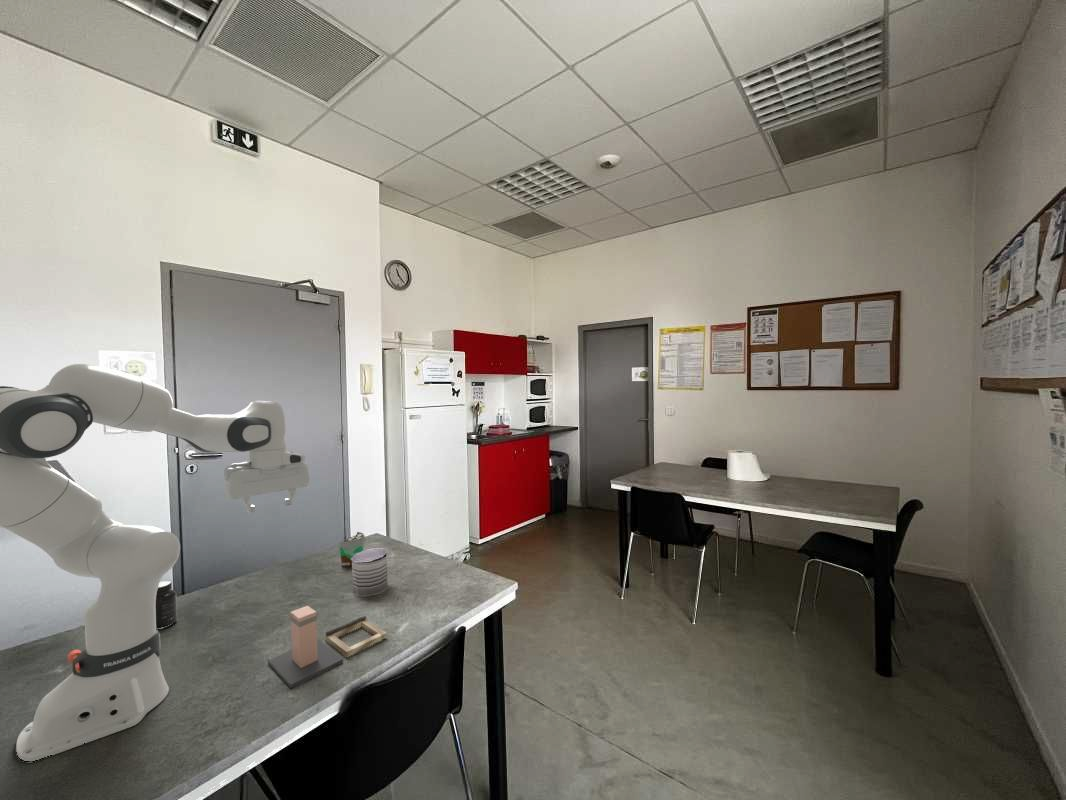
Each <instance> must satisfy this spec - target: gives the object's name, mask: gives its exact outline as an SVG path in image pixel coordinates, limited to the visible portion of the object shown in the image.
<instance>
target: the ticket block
mask: <svg viewBox="0 0 1066 800" xmlns="http://www.w3.org/2000/svg"><path fill="white" fill-rule="evenodd" d="M289 617H290V618H289V619H290V634H291V635H290V636H291V638H290V639H291V650H292V660H293V661H294V662H295V663H296V664H297V665H298V666H299V667H300V668H302V667H304V666H306V665H308V664H311V663H313V662H315V661H317V660H318V649H317V639H318V627H317V621H318V619H317V611H316V610H314V609H313V608H311V607H310V606H309V605H306V606H303V607H299V608H297V609H294V610H292V611H290V616H289Z"/></svg>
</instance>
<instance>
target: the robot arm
mask: <svg viewBox="0 0 1066 800" xmlns="http://www.w3.org/2000/svg"><path fill="white" fill-rule="evenodd" d="M173 405H174V402H173V398H172V395H171V393H170V392H169V390H168V389H166V388H164V387H163V386H160V385H159V384H156V383H155V382H153V381H150V380H148V379H145V378H142V377H139V376H136V375H133V374H129V373H127V372H123V371H119V370H116V369H111V368H108V367H103V366H97V365H93V364H92V365H91V364H85V363H75V364H70V365H66V366H65V367H63V368H61V369H60V370H58V371H57V372H56V373H55V374H54V375H53V376H52V377H51V379H50V381H49V383H48V384H47V385H46V386H44V387H43V388H41V389H38V390H29V389H24V388H18V387H14V386H7V385H6V386H5V385H4V386H2V385H1V386H0V527H2V528H4V529H5V530H7V531H9V532H12V533H13V534H15V535H17V536H19V537H20V538H23V540H26V541H28V542H29V543H31V544H33V545H35V546H37V547H38V548H39V549H41V550H42V551H44V552H45V554H47V555H48V556H49V557H50V558H51V559H53V562H54V565H56V566H57V567H58V568H59V569H61V570H63V571H65V572H68V573H69V574H72V575H74V576H78V577H81V578H83V577H85V578H92V579H93V578H94V579H99V581H100V583H101V584H100V590H99V591H100V592H99V595H98V598H97V600H96V602H94V603H93V604H92V605H90V607H89V608H88V609H87V610H86V612H85V613H84V637H85V639H84V640H85V649H84V650H80V649H74V650H72V651H70V652H69V653H68V655H67V659H68V660H67V661H68V662H69V663H71V665H72V666H71V668H72V673H71V674H70V675H68V676H67V677H65V679H63V680H62V681H61V682H60V683H59V684H57V686H55V687H54V688H53V689H51V690H50V691H49V692H48V693H47V694H46V695H45V696H44V697H42V699H41V700H40V702H39V704H38V706H37V707H36V711H35V713H34V715H33V716H34V717H33V721H31V722H29V723H28V724H27V725H26V726H25V727H24V728H23V729H22V730H21V731H20V733H19V735H18V737H17V739H16V745H15V753H16V752H17V754H16V756H17V755H18V757H19V758H20V759H22V760H24V761H35V760H38V761H40V760H39V759H41V758H44V757H46V758H48V757H47V756H49V757H51V756H50V755H52V756H54V755H57V754H59V753H63V752H66V751H68V750H71V749H73V748H76V747H80V746H82V745H85V744H88V743H91V742H93V741H95V740H98V739H101V738H104V737H107V736H110V735H112V734H116V733H117V732H120V731H124V730H126V729H129V728H131V727H133V726H136V725H137V724H139V723H140V722H141V721H142V720H143V719H144V717H146V715H147V714H148V713H149V712H150V711H151V710H153V709H154V708H155V707H157V706H158V705H159V704H160V703H162V701H164V700H165V698H166V697H167V696H168V694H169V691H170V687H169V686H168V683H167V681H166V679H165V676H164V673H163V670H162V665H161V661H160V655H161V635H160V634H161V633H160V630H158V629H157V628H156V594H157V590H158V586H159V583H160V582H161V581H162V579H163V577H164V575H166V574H167V573H168V572H169V571H170V570H171V569H172V568H173V567H174V566H175V564H176V563H177V562H178V561H177V560H178V559H179V556H180V553H181V543H180V540H179V538H178V536H176V534H174V533H172V532H170V531H167V530H165V529H162V528H160V527H157V526H154V525H143V524H141V525H140V524H138V525H137V524H127V523H123V522H119V521H116V520H114V519H112V518H110V517H109V516H107V514H106V513H105V512H104V511H103V504H102V502H101V500H100V499H99V498H98V497H97V496H95V495H94V494H93V493H91V492H90V491H88V490H86V488H84V487H82V486H81V485H79V484H78V483H77V482H75V481H73V480H72V479H70V478H69V477H67V476H66V475H65V474H63V473H61V472H60V471H58V470H57V469H55V468H54V467H53V466H52V465H50V463H48V461H47V459H46V458H52V457H55V456H59V455H61V454H64V453H66V452H67V451H69V450H71V449H72V448H74V446H75V445H76V444H77V443H78V442H79V441H80V440H81V438H82V437H83V435H84V434H85V432H86V430H87V429H88V428H89V427H91V425H92V424H93V423H96V424H100V425H103V426H107V427H112V428H117V429H122V430H126V431H134V432H150V433H151V432H153V431H155V432H157V433H161V434H165V435H168V436H172V437H176V438H177V439H178V438H179V439H181V440H183V441H185V442H186V443H188V444H189V445H190V446H191V447H193V448H194V449H195V450H198V451H200V452H202V453H215V452H216V453H217V452H218V453H219V452H220V453H221V452H222V453H245V452H248V453H249V454H248V460H249V461H243V462H239V463H237V462H235V463H231V464H230V465H229V466H227V467H225V469H224V480H225V488H224V489H225V490H224V491H225V492H224V495H225V496H226V498H228V499H230V500H238V499H240V500H241V502H242V504H244V505H245V507H246V513H247V514H252V513H253V514H254V513H255V512H256V508H255V507H256V506H255V505H254V504H251V503H249V501H250V500H251V498H250V497H256V496H260V495H267V494H272V493H277V492H283V491H287V492H288V493H289V494H288V496H287V498H284V500H283V502H284V506H285V507H288V506H292V505H293V499H294V497H295V495H296V492H297V489H300V488H306V487H307V486H308V485H309V484H310V476H309V475H310V473H309V469H308V467H307V465H306V463H304V462H305V460H306V458H305V455H304V454H300V453H295V452H293V451H287V446H286V442H285V436H286V418H285V414H284V413H285V412H284V409H283V406H282V405H281V404H279V403H278V402H275V401H269V400H268V401H267V400H266V401H265V400H254V401H251V402H250V403H249V405H248V406H247V407H245V408H244V409H242V410H241V411H239V412H236V413H234V414H213V413H212V414H211V413H207V414H200V415H198V414H197V415H195V414H192V413H189V412H187V411H183V410H180V409H177V408H174V407H173ZM84 743H85V744H84ZM29 752H30V753H29ZM18 757H17V758H18ZM19 758H18V759H19ZM20 759H19V760H20ZM44 759H45V758H44ZM41 760H42V759H41ZM24 761H23V762H24ZM35 762H36V761H35Z"/></svg>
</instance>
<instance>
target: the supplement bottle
mask: <svg viewBox="0 0 1066 800" xmlns="http://www.w3.org/2000/svg"><path fill="white" fill-rule="evenodd" d="M177 601H178V597H177V592H176V591H175V590H174V589H173V585H172V581H171V580H161V581H160V583H159V586H158V590H157V594H156V628H161V627H165V626H168V625H170V624H172V623H174V622H175V621H176V622H177V621H178V602H177Z"/></svg>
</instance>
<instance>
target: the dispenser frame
mask: <svg viewBox="0 0 1066 800" xmlns="http://www.w3.org/2000/svg"><path fill="white" fill-rule="evenodd" d="M360 627H363V628H365V629H366V630H368V631H369V632H371V633H372V634H374V635H372V634H371V633H370V634H371V635H372V636H370V637H368V638H366V639H364V640H361V641H359V642H358V643H355V644H353V645H351V646H349V645H348V644H346V643H345V642H344V641H342V640H341V639H340V638H341V637H343V636H342V635H344V636H345V634H346V633H348V634H350V633H352V632H351V631H353V630H355V631H357V630H359V629H361V628H360ZM358 628H359V629H358ZM363 628H362V629H363ZM356 629H357V630H356ZM365 629H364V630H365ZM366 630H365V631H366ZM368 631H367V632H368ZM349 632H350V633H349ZM353 632H354V631H353ZM369 632H368V633H369ZM346 635H347V634H346ZM387 635H388V634H387V632H386V631H385V630H383V629H381V628H380V627H378V626H376V625H375V624H374V623H372V622H371V621H369V620H367V616H366V615H363V616H360V617H358V618H356V619H354V620H351V621H348V622H346V623H344V624H341V625H339V626H338V627H335V628H332V629H330V630H328V631H325V634H324V639H325V640H326V641H325V642H327V644H328V645H330V644H331V645H332V647H333V648H334V649H335V650H336V649H337V650H336V651H338V652H339V653H340V652H341V653H342V654H341V653H340V654H341V655H342V656H344V657H345V656H346V657H348V658H349V656H350V657H352V656H354V655H356V654H358V653H360V652H362V651H364V650H366V649H368V648H370V647H372V646H374V645H375V644H374V643H376V642H378V641H380V640H382V639H384V638H385V637H387V638H388V636H387ZM340 636H341V637H340ZM338 637H339V638H338ZM373 644H374V645H373ZM331 645H330V646H331ZM371 645H372V646H371ZM369 646H370V647H369ZM367 647H368V648H367ZM365 648H366V649H365ZM363 649H364V650H363ZM361 650H362V651H361ZM359 651H360V652H359ZM357 652H358V653H357ZM355 653H356V654H355ZM353 654H354V655H353ZM351 655H352V656H351ZM346 657H345V658H346Z"/></svg>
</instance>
